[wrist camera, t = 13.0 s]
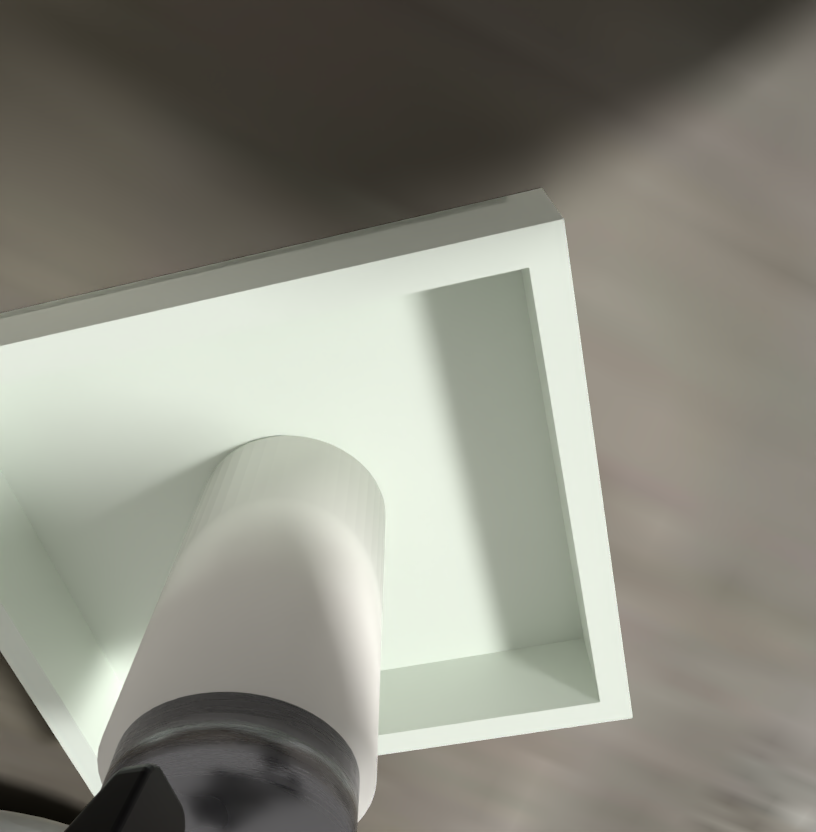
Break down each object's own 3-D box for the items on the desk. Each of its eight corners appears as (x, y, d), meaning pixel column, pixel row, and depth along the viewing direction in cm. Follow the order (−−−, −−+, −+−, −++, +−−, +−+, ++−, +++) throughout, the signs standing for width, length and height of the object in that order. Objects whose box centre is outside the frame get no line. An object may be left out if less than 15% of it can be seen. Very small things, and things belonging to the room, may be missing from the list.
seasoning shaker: (362, 420, 19) (330, 742, 11) (402, 570, 22) (401, 930, 13) (175, 454, 20) (7, 788, 11) (234, 597, 22) (130, 963, 14)
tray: (541, 187, 17) (564, 218, 15) (609, 638, 24) (632, 718, 21) (-90, 333, 19) (-172, 384, 17) (128, 715, 25) (94, 796, 23)
